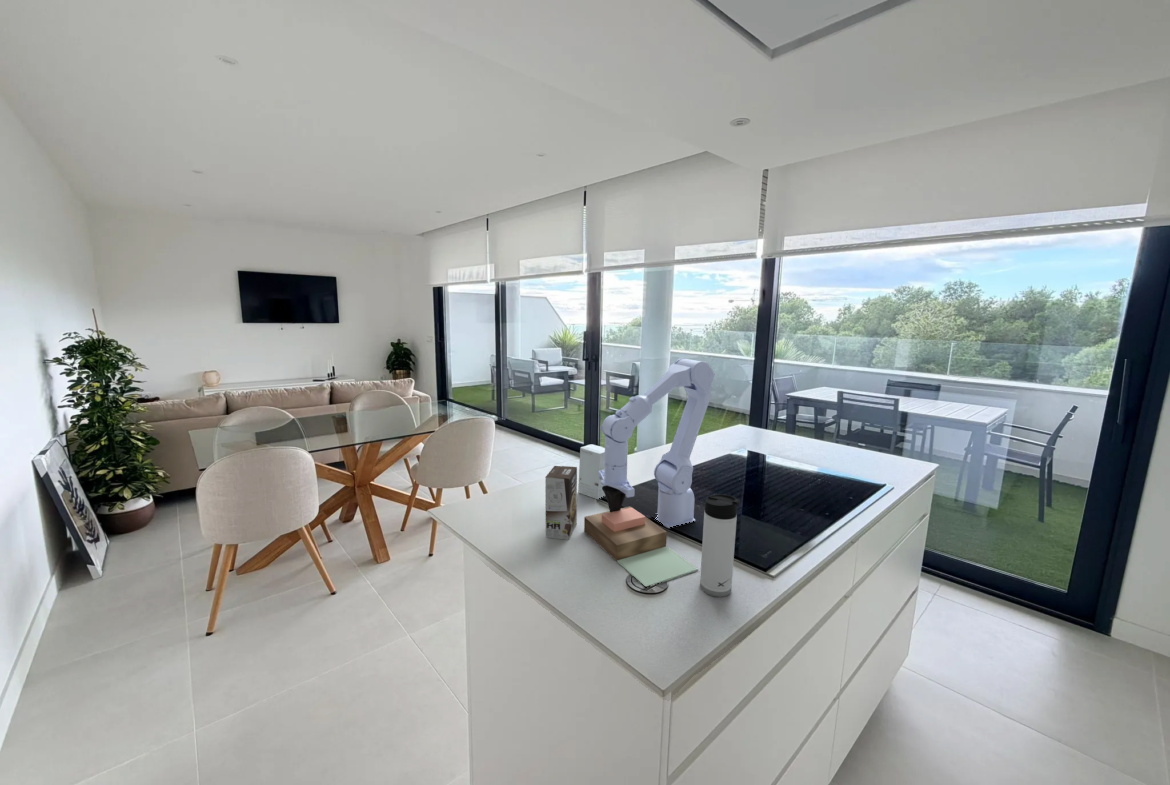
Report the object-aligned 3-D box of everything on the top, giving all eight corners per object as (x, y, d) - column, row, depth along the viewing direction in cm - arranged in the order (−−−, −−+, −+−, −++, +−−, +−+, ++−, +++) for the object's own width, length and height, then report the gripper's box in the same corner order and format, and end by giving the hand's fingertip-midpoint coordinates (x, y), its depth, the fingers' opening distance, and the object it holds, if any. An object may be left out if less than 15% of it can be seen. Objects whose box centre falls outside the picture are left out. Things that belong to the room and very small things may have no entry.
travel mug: (728, 601, 90) (735, 506, 86) (695, 590, 94) (701, 499, 90) (736, 585, 95) (743, 495, 92) (705, 575, 99) (710, 488, 95)
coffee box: (569, 540, 113) (569, 478, 110) (544, 537, 115) (544, 476, 112) (577, 523, 122) (578, 466, 119) (554, 521, 123) (554, 464, 120)
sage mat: (666, 547, 110) (667, 546, 110) (697, 570, 101) (698, 568, 101) (617, 562, 104) (617, 560, 104) (645, 588, 94) (645, 586, 94)
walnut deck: (629, 520, 124) (630, 506, 124) (666, 547, 111) (666, 531, 110) (584, 531, 118) (584, 516, 117) (616, 561, 104) (617, 545, 103)
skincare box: (577, 493, 142) (577, 447, 139) (590, 487, 147) (590, 443, 144) (598, 500, 137) (599, 453, 134) (611, 494, 141) (611, 448, 139)
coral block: (631, 514, 119) (631, 507, 118) (645, 524, 113) (645, 516, 113) (601, 521, 114) (601, 514, 114) (614, 532, 109) (614, 524, 109)
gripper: (588, 456, 119) (587, 505, 122) (617, 474, 107) (616, 528, 109) (611, 453, 122) (610, 500, 125) (642, 470, 110) (640, 522, 112)
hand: (614, 513), depth 117 cm, fingers closed
